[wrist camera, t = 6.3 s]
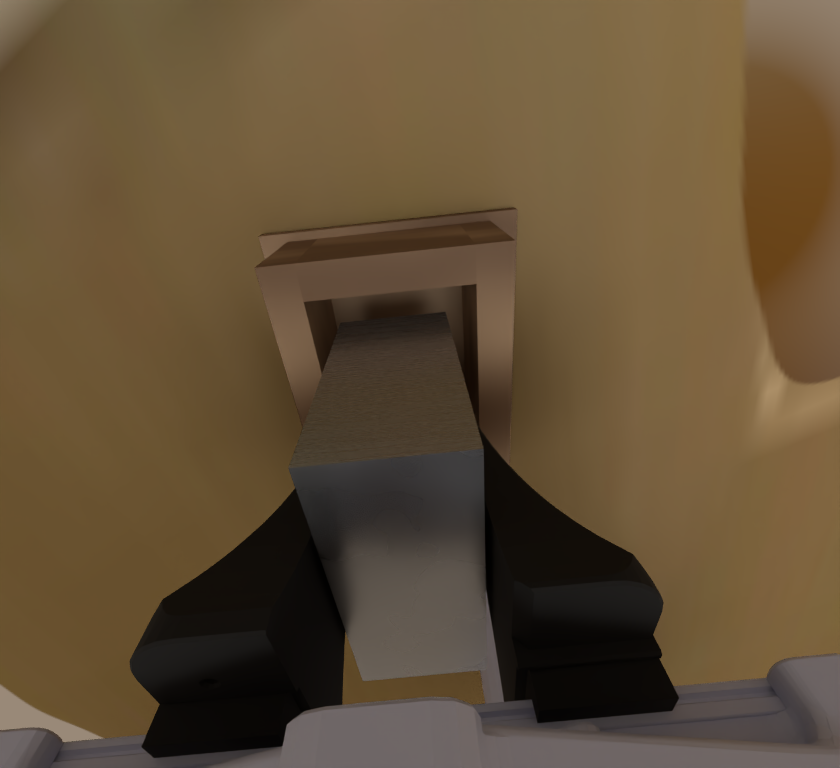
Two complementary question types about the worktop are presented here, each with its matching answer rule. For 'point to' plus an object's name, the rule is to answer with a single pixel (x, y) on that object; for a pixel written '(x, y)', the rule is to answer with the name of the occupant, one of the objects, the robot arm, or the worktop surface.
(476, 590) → the silver metal block
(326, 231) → the brown rectangular frame
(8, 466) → the worktop surface
